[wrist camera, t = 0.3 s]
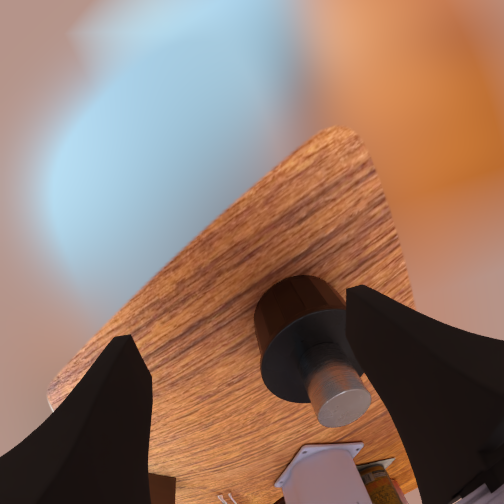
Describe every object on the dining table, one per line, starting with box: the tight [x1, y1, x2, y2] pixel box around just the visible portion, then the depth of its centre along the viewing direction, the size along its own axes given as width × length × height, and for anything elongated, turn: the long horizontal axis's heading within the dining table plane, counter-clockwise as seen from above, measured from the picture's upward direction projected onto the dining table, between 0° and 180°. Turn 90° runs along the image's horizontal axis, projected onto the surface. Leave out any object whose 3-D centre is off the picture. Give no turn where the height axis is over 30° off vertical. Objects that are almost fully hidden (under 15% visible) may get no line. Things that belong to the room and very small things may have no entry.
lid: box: [260, 305, 371, 428], centre depth 15 cm, size 7×7×5 cm
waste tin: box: [254, 275, 346, 354], centre depth 19 cm, size 6×6×5 cm
